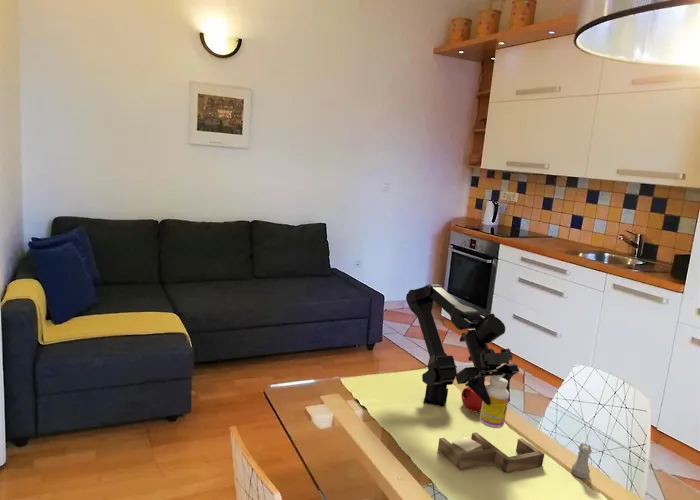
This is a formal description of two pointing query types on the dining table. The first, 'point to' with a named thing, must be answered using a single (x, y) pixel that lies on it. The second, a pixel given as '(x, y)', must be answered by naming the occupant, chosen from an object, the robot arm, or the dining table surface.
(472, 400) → the pomegranate
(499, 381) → the supplement bottle
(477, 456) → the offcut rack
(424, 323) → the robot arm
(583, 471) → the rook chess piece
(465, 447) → the offcut stack
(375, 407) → the dining table surface
